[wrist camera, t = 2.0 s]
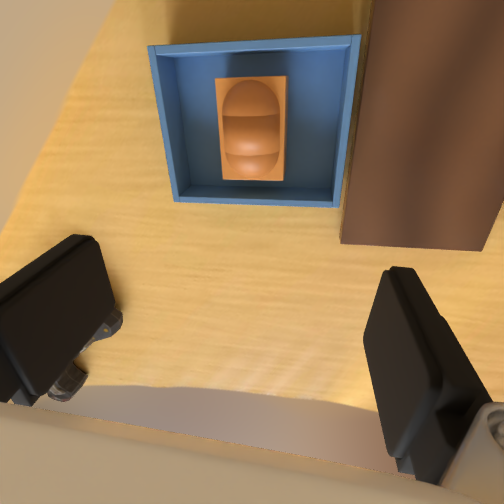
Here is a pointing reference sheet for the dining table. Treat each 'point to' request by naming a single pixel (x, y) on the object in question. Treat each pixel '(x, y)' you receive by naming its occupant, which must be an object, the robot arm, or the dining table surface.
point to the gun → (72, 376)
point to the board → (428, 127)
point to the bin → (298, 122)
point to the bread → (253, 126)
